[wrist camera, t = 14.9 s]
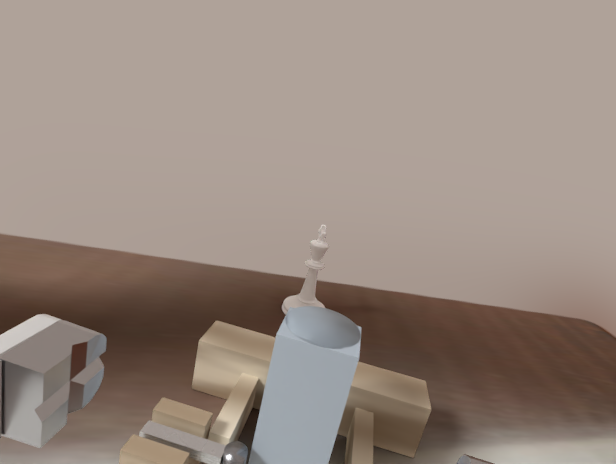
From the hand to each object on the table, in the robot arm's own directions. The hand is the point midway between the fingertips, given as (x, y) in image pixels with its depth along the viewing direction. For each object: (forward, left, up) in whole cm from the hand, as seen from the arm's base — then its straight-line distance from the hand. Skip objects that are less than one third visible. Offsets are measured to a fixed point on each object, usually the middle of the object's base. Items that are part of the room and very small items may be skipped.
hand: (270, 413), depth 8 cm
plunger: (-9, +1, -11) cm, 15 cm away
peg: (-9, +7, -14) cm, 18 cm away
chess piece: (-27, +16, -14) cm, 34 cm away
